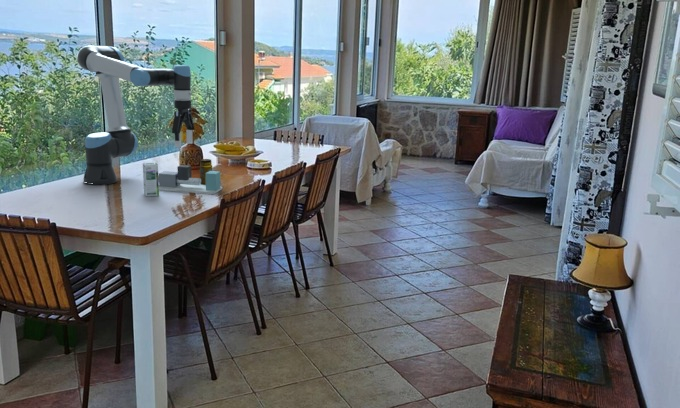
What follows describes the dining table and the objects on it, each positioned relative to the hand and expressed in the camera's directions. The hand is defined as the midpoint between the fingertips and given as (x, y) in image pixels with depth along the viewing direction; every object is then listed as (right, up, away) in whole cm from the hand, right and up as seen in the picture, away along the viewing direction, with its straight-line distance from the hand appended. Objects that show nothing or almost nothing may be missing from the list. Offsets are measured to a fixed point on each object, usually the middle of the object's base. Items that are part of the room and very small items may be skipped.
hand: (184, 145), depth 277 cm
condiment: (+5, -17, +18) cm, 26 cm away
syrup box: (-12, -23, -9) cm, 28 cm away
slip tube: (-4, -18, +5) cm, 19 cm away
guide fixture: (+2, -20, +5) cm, 21 cm away
